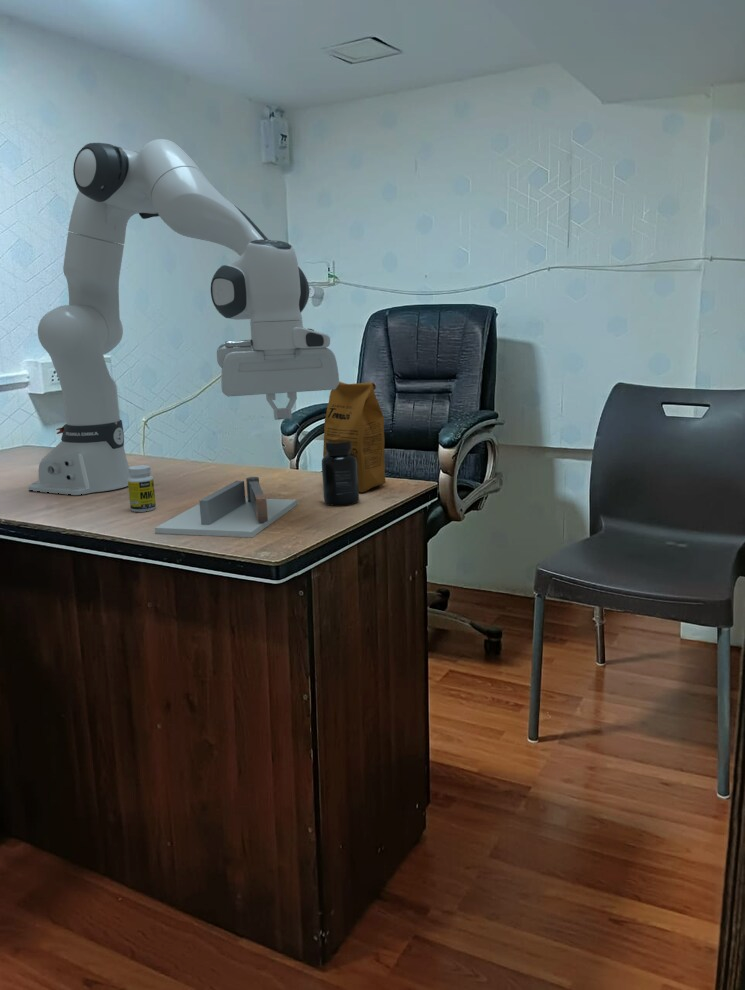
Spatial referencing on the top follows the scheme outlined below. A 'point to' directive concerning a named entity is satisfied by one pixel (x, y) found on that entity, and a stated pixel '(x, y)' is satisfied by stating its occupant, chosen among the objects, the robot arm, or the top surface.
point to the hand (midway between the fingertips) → (282, 418)
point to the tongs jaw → (258, 501)
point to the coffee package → (358, 429)
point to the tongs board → (226, 514)
